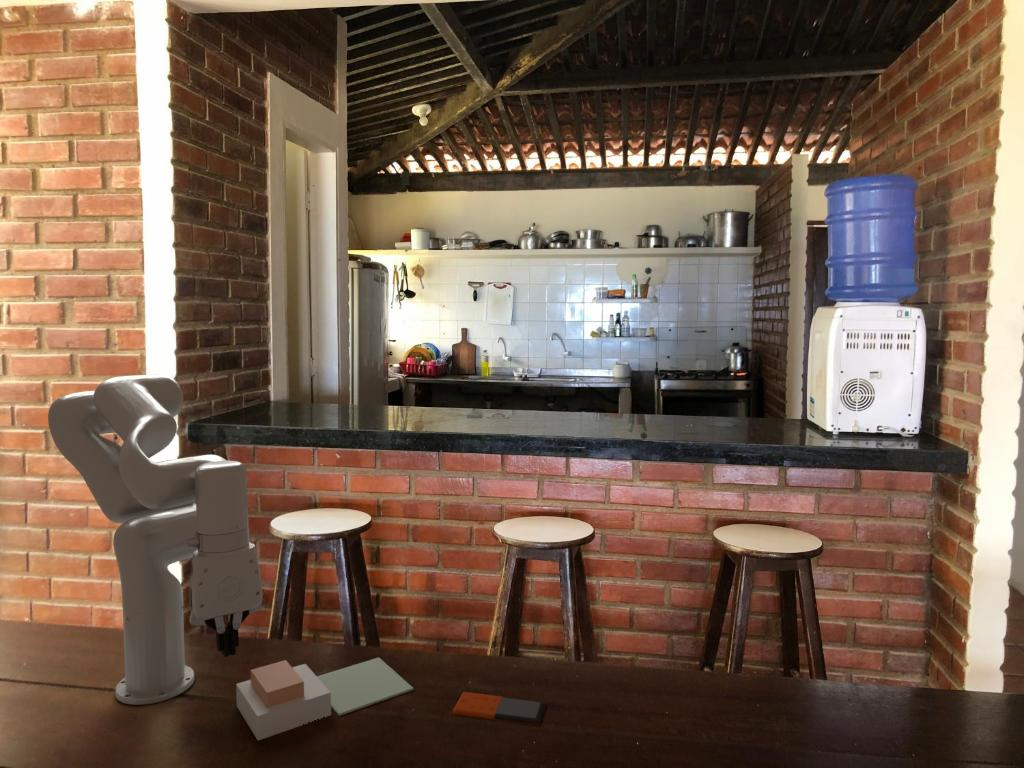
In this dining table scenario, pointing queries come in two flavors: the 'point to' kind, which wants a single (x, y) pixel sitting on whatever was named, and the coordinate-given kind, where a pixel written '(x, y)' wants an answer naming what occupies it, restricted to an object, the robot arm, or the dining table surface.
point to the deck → (284, 706)
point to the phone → (500, 708)
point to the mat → (363, 685)
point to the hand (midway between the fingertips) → (228, 652)
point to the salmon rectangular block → (277, 683)
